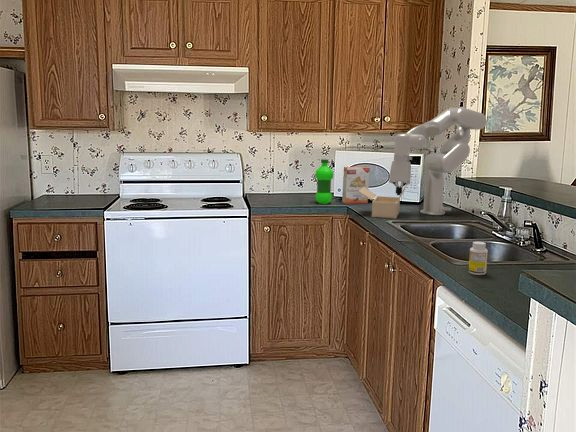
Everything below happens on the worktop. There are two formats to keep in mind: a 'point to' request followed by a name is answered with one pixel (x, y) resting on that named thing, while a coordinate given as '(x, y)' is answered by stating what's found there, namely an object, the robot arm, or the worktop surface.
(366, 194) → the flap far
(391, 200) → the carton
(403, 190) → the flap near
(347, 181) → the cracker box
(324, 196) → the plastic bottle
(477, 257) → the supplement bottle
